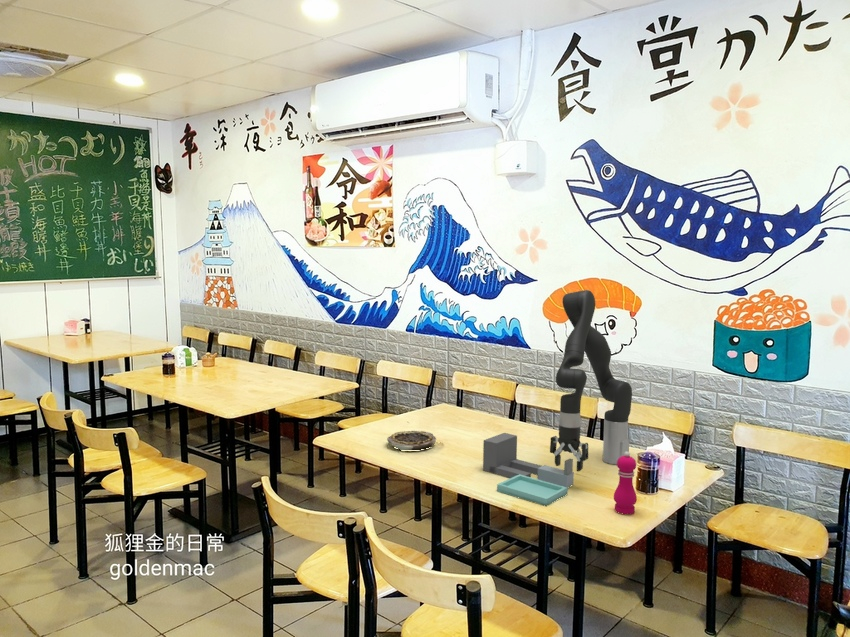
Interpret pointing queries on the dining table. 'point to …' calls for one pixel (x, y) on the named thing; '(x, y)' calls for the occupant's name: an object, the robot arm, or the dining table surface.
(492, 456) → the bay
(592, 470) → the dining table surface
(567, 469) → the grey block with peg
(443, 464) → the dining table surface
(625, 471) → the pepper mill
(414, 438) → the pie
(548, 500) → the tray
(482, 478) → the dining table surface
